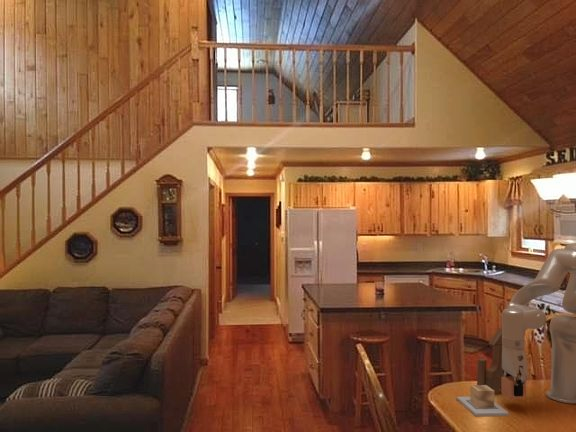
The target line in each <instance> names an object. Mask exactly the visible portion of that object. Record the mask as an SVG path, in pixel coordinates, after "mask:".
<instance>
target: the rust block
mask: <svg viewBox="0 0 576 432" xmlns="http://www.w3.org/2000/svg"><path fill="white" fill-rule="evenodd" d="M519 379H520V378H517V381H518V380H519ZM501 382H502V388H501V394H502V395H504V396H505V397H506V398H508V399H509V400H517V399H519V400H521V399H527V380H526V381H525V383H524V385H523V396H514V385H515V381H514V377H513V376H508V377H501Z"/></svg>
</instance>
